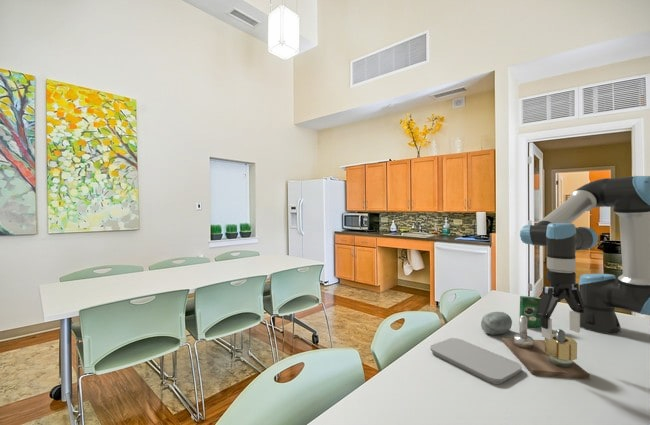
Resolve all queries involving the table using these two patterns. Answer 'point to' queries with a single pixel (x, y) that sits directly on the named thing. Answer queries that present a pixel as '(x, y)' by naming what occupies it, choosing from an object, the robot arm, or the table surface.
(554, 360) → the metal peg stand
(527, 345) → the stand rod
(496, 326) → the grey marbled egg
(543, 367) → the walnut plate
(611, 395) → the table surface
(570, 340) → the tan boxy piece
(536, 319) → the coffee box
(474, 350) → the tablet
